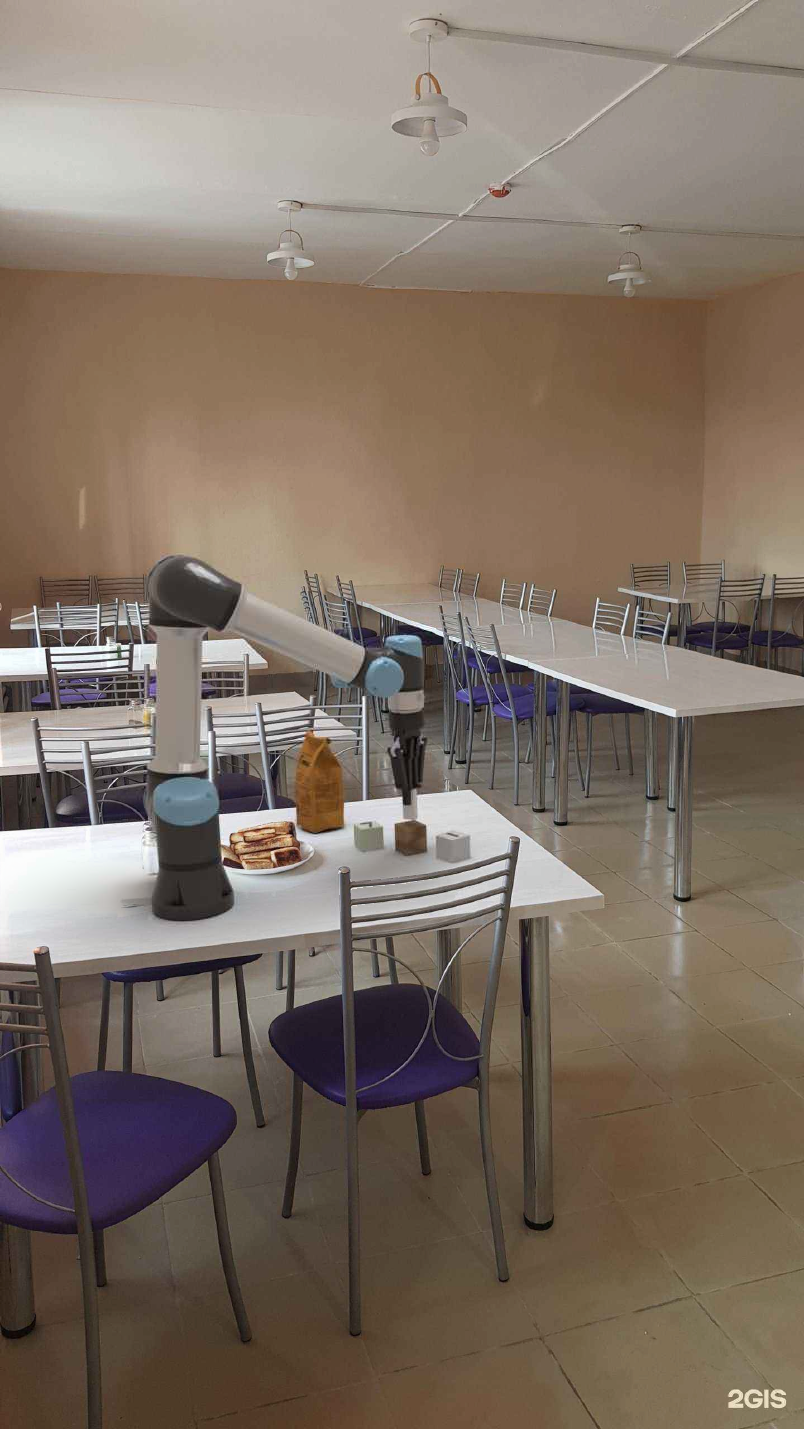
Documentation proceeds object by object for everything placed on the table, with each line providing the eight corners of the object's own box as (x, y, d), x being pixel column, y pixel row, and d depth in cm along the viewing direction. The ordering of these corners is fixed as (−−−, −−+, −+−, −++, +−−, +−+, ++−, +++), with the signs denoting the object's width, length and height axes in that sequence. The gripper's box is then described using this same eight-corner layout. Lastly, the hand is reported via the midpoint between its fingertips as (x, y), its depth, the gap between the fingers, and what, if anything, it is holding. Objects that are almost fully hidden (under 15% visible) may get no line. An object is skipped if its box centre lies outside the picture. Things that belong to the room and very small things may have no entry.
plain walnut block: (406, 856, 224) (405, 829, 223) (395, 850, 228) (394, 823, 227) (427, 852, 226) (426, 825, 225) (415, 846, 230) (414, 819, 229)
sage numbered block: (361, 852, 228) (361, 828, 227) (354, 845, 232) (353, 823, 231) (383, 848, 230) (382, 825, 229) (375, 842, 234) (375, 820, 233)
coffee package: (329, 816, 256) (325, 727, 252) (349, 829, 245) (345, 735, 241) (290, 822, 252) (285, 731, 248) (309, 835, 240) (304, 741, 236)
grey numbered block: (452, 863, 218) (452, 839, 217) (436, 858, 222) (435, 834, 221) (470, 858, 221) (469, 834, 220) (454, 852, 225) (453, 829, 224)
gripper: (406, 716, 214) (410, 828, 218) (437, 705, 225) (440, 812, 229) (374, 714, 218) (379, 824, 222) (406, 703, 229) (410, 808, 233)
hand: (410, 818), depth 226 cm, fingers closed
